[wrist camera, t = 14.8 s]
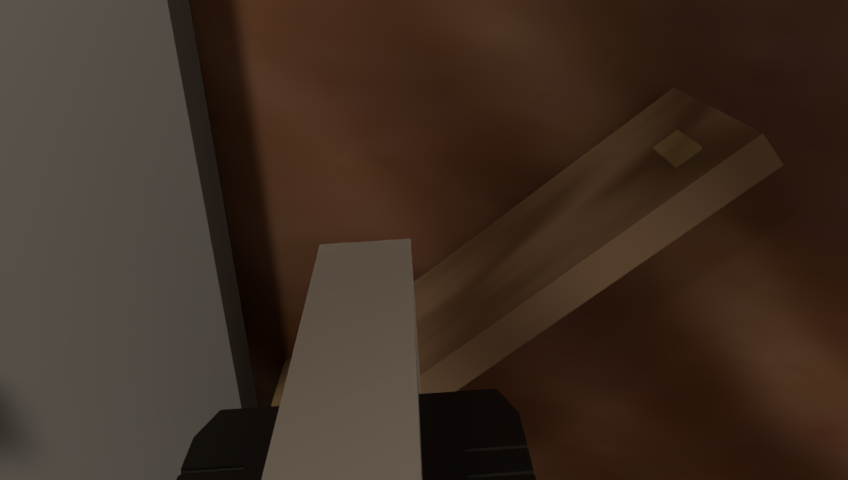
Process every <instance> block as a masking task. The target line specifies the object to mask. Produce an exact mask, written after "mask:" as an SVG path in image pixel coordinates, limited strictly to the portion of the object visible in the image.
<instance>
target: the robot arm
mask: <svg viewBox="0 0 848 480" xmlns="http://www.w3.org/2000/svg"><path fill="white" fill-rule="evenodd" d="M176 480H536V478H535V475H534V474H533V467H532V463H531V459H530V455H529V451H528V449H527V443H526V439H525V435H524V431H523V427H522V423H521V419H520V415H519V413H518V411H517V410H516V409H515V408H514V407H513V406H512V405H511V404H510V403H509V402H508V401H507V400H506V399H505V398H504V397H503V395H502V394H501V393H500V392H499V391H498V390H497V389H486V390H471V391H455V392H440V393H425V394H421V386H420V369H419V354H418V339H417V325H416V310H415V295H414V280H413V266H412V251H411V239H397V240H381V241H366V242H350V243H335V244H320V245H319V249H318V253H317V257H316V261H315V266H314V270H313V274H312V278H311V282H310V286H309V290H308V294H307V298H306V302H305V306H304V310H303V314H302V318H301V322H300V326H299V330H298V334H297V338H296V342H295V346H294V350H293V354H292V358H291V362H290V366H289V370H288V374H287V378H286V382H285V386H284V390H283V394H282V398H281V402H280V406H270V407H255V408H240V409H225V410H220V411H219V412H218V413H217V414H216V415H215V416H214V417H213V418H212V419H211V420H210V421H209V422H208V423H207V424H206V425H205V426H204V427H203V428H202V429H201V430H200V431H199V432H198V433H197V434H196V435H195V436H194V437H193V440H192V442H191V445H190V447H189V450H188V452H187V455H186V457H185V460H184V462H183V465H182V467H181V475H178V477H177V479H176Z"/></svg>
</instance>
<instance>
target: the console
mask: <svg viewBox="0 0 848 480" xmlns="http://www.w3.org/2000/svg"><path fill="white" fill-rule="evenodd" d="M255 407H259V406H258V400H257V395H256V389H255V383H254V377H253V371H252V365H251V360H250V354H249V348H248V342H247V336H246V330H245V325H244V319H243V313H242V307H241V301H240V295H239V290H238V284H237V278H236V272H235V266H234V260H233V255H232V249H231V243H230V237H229V231H228V225H227V220H226V214H225V208H224V202H223V196H222V190H221V185H220V179H219V173H218V167H217V161H216V155H215V150H214V144H213V138H212V132H211V126H210V120H209V115H208V109H207V103H206V97H205V91H204V85H203V80H202V74H201V68H200V62H199V56H198V50H197V45H196V39H195V33H194V27H193V21H192V15H191V10H190V4H189V0H0V480H176V479H177V477H178V475H181V467H182V465H183V462H184V460H185V457H186V455H187V452H188V450H189V447H190V445H191V442H192V440H193V437H194V436H195V435H196V434H197V433H198V432H199V431H200V430H201V429H202V428H203V427H204V426H205V425H206V424H207V423H208V422H209V421H210V420H211V419H212V418H213V417H214V416H215V415H216V414H217V413H218V412H219V411H220V410H225V409H240V408H255Z"/></svg>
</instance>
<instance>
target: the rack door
mask: <svg viewBox="0 0 848 480" xmlns="http://www.w3.org/2000/svg"><path fill="white" fill-rule="evenodd" d="M782 166H783V163H782V162H781V160H780V159H779V157H778V155H777V154H776V152H775V151H774V149H773V148H772V146H771V144H770V143H769V141H768V140H767V138H766V137H765V135H764V134H763V133H762V132H760V131H758V130H756V129H754V128H752V127H751V126H749V125H747V124H745V123H743V122H741V121H739V120H737V119H735V118H733V117H731V116H729V115H727V114H725V113H723V112H721V111H719V110H718V109H716V108H714V107H712V106H710V105H708V104H706V103H704V102H702V101H700V100H698V99H696V98H694V97H692V96H690V95H688V94H686V93H685V92H683V91H681V90H679V89H677V88H675V87H674V88H672V89H671V90H669V91H668V92H667V93H665V94H664V95H663V96H661V97H660V98H659V99H657V100H656V101H655V102H653V103H652V104H651V105H649V106H648V107H647V108H645V109H644V110H643V111H641V112H640V113H639V114H637V115H636V116H635V117H633V118H632V119H631V120H629V121H628V122H627V123H625V124H624V125H623V126H621V127H620V128H619V129H617V130H616V131H615V132H613V133H612V134H611V135H609V136H608V137H607V138H605V139H604V140H603V141H601V142H600V143H599V144H597V145H596V146H595V147H593V148H592V149H591V150H589V151H588V152H587V153H585V154H584V155H583V156H581V157H580V158H579V159H577V160H576V161H575V162H573V163H572V164H571V165H569V166H568V167H567V168H565V169H564V170H562V171H561V172H560V173H558V174H557V175H556V176H554V177H553V178H552V179H550V180H549V181H548V182H546V183H545V184H544V185H542V186H541V187H540V188H538V189H537V190H536V191H534V192H533V193H532V194H530V195H529V196H528V197H526V198H525V199H524V200H522V201H521V202H520V203H518V204H517V205H516V206H514V207H513V208H512V209H510V210H509V211H508V212H506V213H505V214H504V215H502V216H501V217H500V218H498V219H497V220H496V221H494V222H493V223H492V224H490V225H489V226H488V227H486V228H485V229H484V230H482V231H481V232H480V233H478V234H477V235H476V236H474V237H473V238H472V239H470V240H469V241H468V242H466V243H465V244H464V245H462V246H461V247H459V248H458V249H457V250H455V251H454V252H453V253H451V254H450V255H449V256H447V257H446V258H445V259H443V260H442V261H441V262H439V263H438V264H437V265H435V266H434V267H433V268H431V269H430V270H429V271H427V272H426V273H425V274H423V275H422V276H421V277H419V278H418V279H417V280H415V281H414V295H415V310H416V325H417V339H418V354H419V369H420V386H421V394H425V393H440V392H455V391H457V390H459V389H460V388H462V387H463V386H465V385H466V384H467V383H469V382H470V381H472V380H473V379H475V378H476V377H478V376H479V375H480V374H482V373H483V372H485V371H486V370H488V369H489V368H491V367H492V366H494V365H495V364H496V363H498V362H499V361H501V360H502V359H504V358H505V357H507V356H508V355H509V354H511V353H512V352H514V351H515V350H517V349H518V348H520V347H521V346H522V345H524V344H525V343H527V342H528V341H530V340H531V339H533V338H534V337H535V336H537V335H538V334H540V333H541V332H543V331H544V330H546V329H547V328H549V327H550V326H551V325H553V324H554V323H556V322H557V321H559V320H560V319H562V318H563V317H564V316H566V315H567V314H569V313H570V312H572V311H573V310H575V309H576V308H577V307H579V306H580V305H582V304H583V303H585V302H586V301H588V300H589V299H591V298H592V297H593V296H595V295H596V294H598V293H599V292H601V291H602V290H604V289H605V288H606V287H608V286H609V285H611V284H612V283H614V282H615V281H617V280H618V279H619V278H621V277H622V276H624V275H625V274H627V273H628V272H630V271H631V270H632V269H634V268H635V267H637V266H638V265H640V264H641V263H643V262H644V261H646V260H647V259H648V258H650V257H651V256H653V255H654V254H656V253H657V252H659V251H660V250H661V249H663V248H664V247H666V246H667V245H669V244H670V243H672V242H673V241H674V240H676V239H677V238H679V237H680V236H682V235H683V234H685V233H686V232H687V231H689V230H690V229H692V228H693V227H695V226H696V225H698V224H699V223H701V222H702V221H703V220H705V219H706V218H708V217H709V216H711V215H712V214H714V213H715V212H716V211H718V210H719V209H721V208H722V207H724V206H725V205H727V204H728V203H729V202H731V201H732V200H734V199H735V198H737V197H738V196H740V195H741V194H742V193H744V192H745V191H747V190H748V189H750V188H751V187H753V186H754V185H756V184H757V183H758V182H760V181H761V180H763V179H764V178H766V177H767V176H769V175H770V174H771V173H773V172H774V171H776V170H777V169H779V168H780V167H782ZM291 358H292V356H290V357H289V358H288V359H287V360H286V361H285V363H284V365H283V368H282V371H281V374H280V378H279V381H278V384H277V387H276V391H275V394H274V397H273V401H272V404H271V406H280V402H281V398H282V394H283V390H284V386H285V382H286V378H287V374H288V370H289V366H290V362H291Z"/></svg>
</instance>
